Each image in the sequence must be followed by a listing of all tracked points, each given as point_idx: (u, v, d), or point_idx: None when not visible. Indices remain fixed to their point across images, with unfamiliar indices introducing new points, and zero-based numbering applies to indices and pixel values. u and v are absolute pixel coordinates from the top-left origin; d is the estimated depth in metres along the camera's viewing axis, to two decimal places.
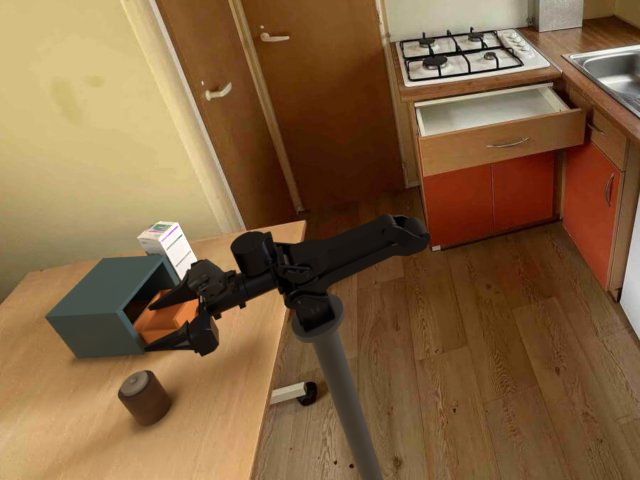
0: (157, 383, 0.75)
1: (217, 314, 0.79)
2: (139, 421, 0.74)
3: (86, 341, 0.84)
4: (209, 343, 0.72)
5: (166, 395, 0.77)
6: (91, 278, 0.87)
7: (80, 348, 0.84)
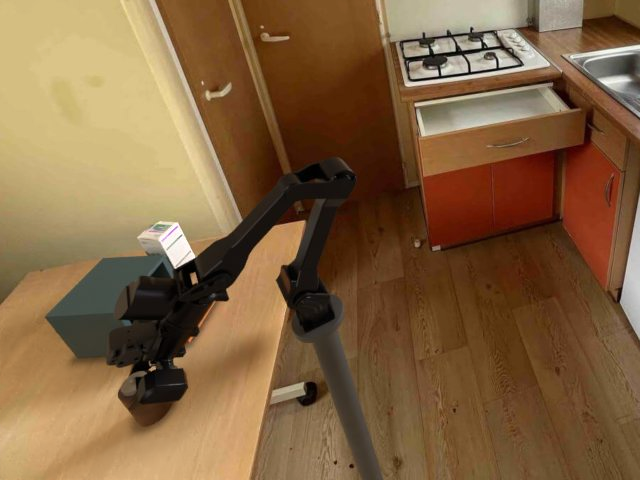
0: None
1: (177, 354, 0.74)
2: (139, 421, 0.74)
3: (86, 341, 0.84)
4: (169, 392, 0.68)
5: None
6: (91, 278, 0.87)
7: (80, 348, 0.84)
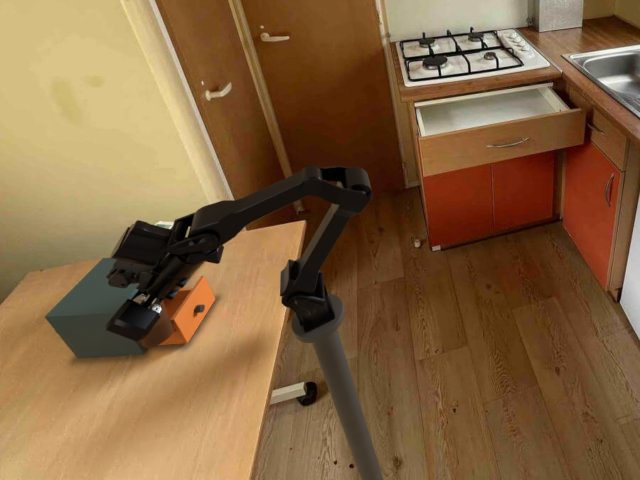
0: None
1: (166, 295, 0.77)
2: None
3: (86, 341, 0.84)
4: (128, 331, 0.70)
5: (165, 327, 0.82)
6: (91, 278, 0.87)
7: (80, 348, 0.84)
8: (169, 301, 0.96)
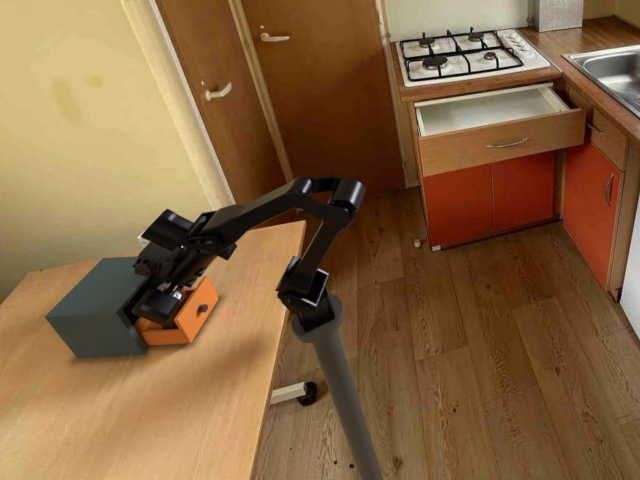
0: None
1: (186, 283, 0.84)
2: None
3: (86, 341, 0.84)
4: (152, 315, 0.78)
5: None
6: (91, 278, 0.87)
7: (80, 348, 0.84)
8: None
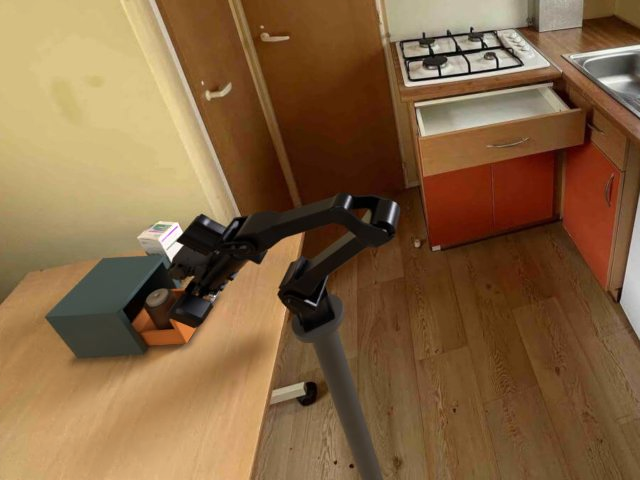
0: (170, 307, 0.87)
1: (217, 287, 0.85)
2: None
3: (86, 341, 0.84)
4: (187, 318, 0.79)
5: None
6: (91, 278, 0.87)
7: (80, 348, 0.84)
8: None
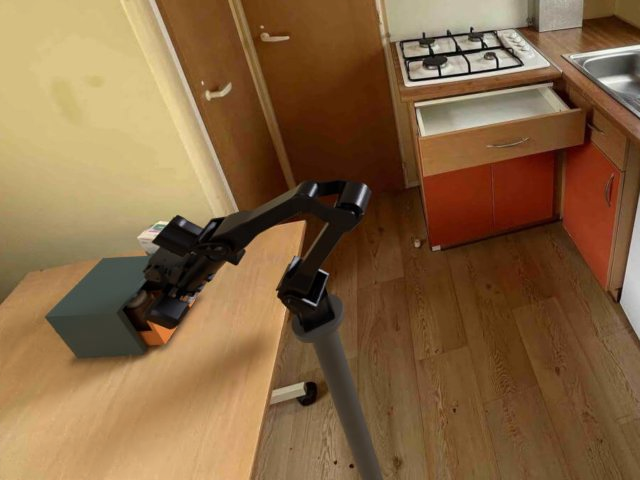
0: None
1: (195, 288, 0.85)
2: None
3: (86, 341, 0.84)
4: (162, 320, 0.79)
5: None
6: (91, 278, 0.87)
7: (80, 348, 0.84)
8: None
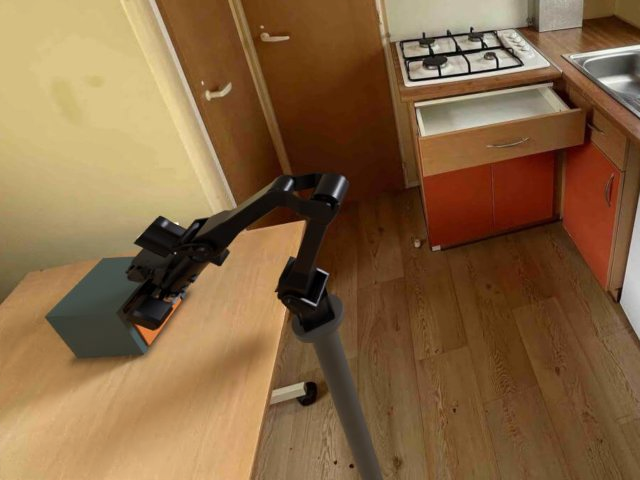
0: None
1: (178, 289, 0.85)
2: None
3: (86, 341, 0.84)
4: (144, 321, 0.79)
5: None
6: (91, 278, 0.87)
7: (80, 348, 0.84)
8: None
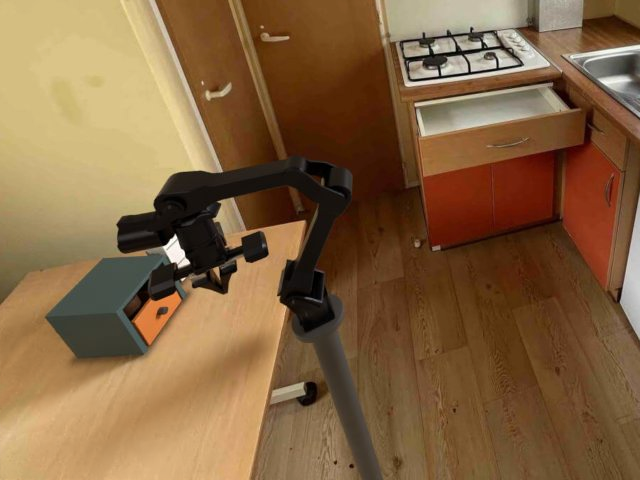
0: (133, 309, 0.87)
1: (193, 268, 0.77)
2: None
3: (86, 341, 0.84)
4: None
5: None
6: (91, 278, 0.87)
7: (80, 348, 0.84)
8: None
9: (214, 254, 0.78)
